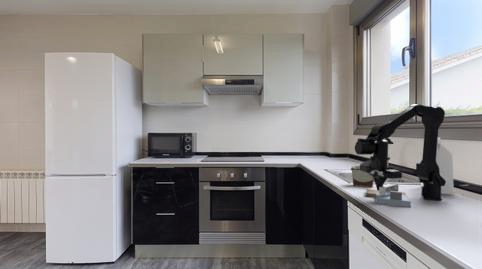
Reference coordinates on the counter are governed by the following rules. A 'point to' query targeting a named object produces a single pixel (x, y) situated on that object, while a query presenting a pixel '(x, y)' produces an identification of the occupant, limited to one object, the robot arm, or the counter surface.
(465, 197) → the counter surface
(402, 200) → the grey stepped block
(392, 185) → the lock bar
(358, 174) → the food container
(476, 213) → the counter surface
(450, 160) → the milk
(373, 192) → the jamb board
